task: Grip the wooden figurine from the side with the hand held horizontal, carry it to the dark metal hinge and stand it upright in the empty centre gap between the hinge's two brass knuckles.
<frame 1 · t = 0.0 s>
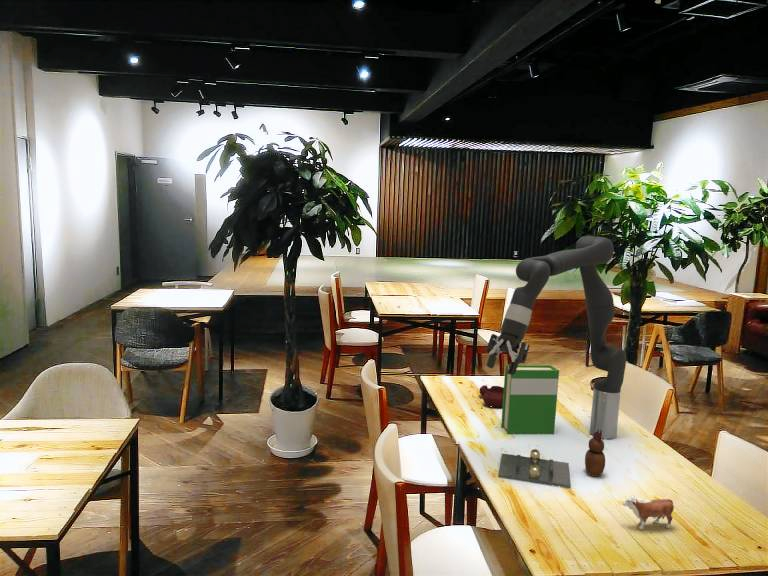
hand: (499, 371, 176), 31 cm above the table, tool tilted 20°, fingers open, 8 cm apart
hinge: (534, 471, 179), on the table
wooden figurine: (593, 474, 179), on the table
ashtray: (500, 403, 244), on the table
bull figurine: (647, 526, 150), on the table
hardback book: (527, 431, 214), on the table
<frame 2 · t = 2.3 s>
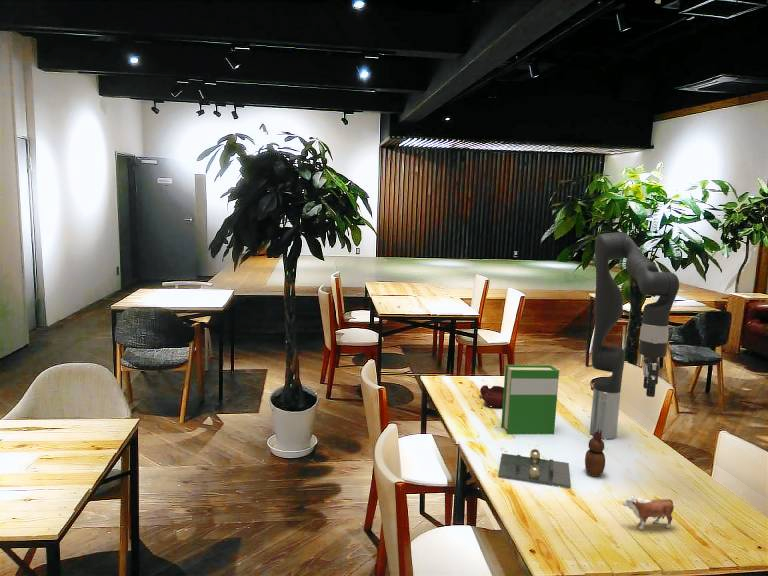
hand: (648, 392, 172), 28 cm above the table, tool pointing down, fingers open, 8 cm apart
nothing on the table moved.
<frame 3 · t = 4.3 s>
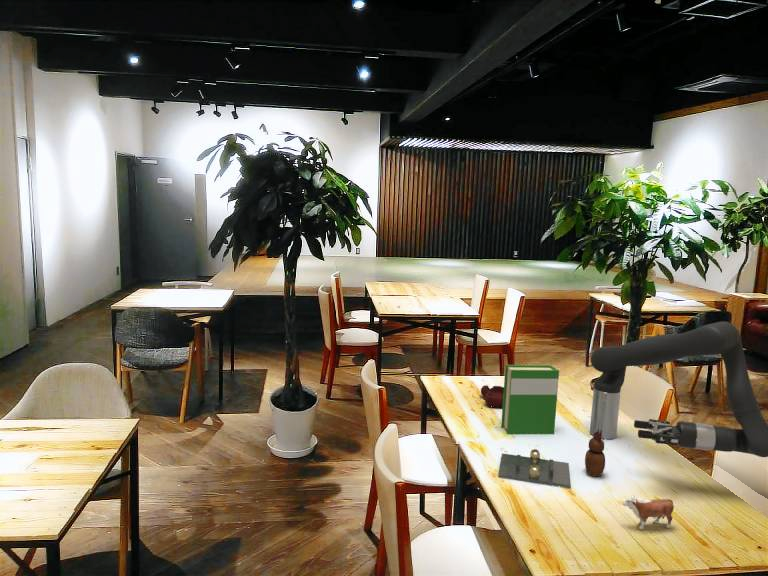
hand: (636, 428, 174), 16 cm above the table, tool horizontal, fingers open, 8 cm apart
nothing on the table moved.
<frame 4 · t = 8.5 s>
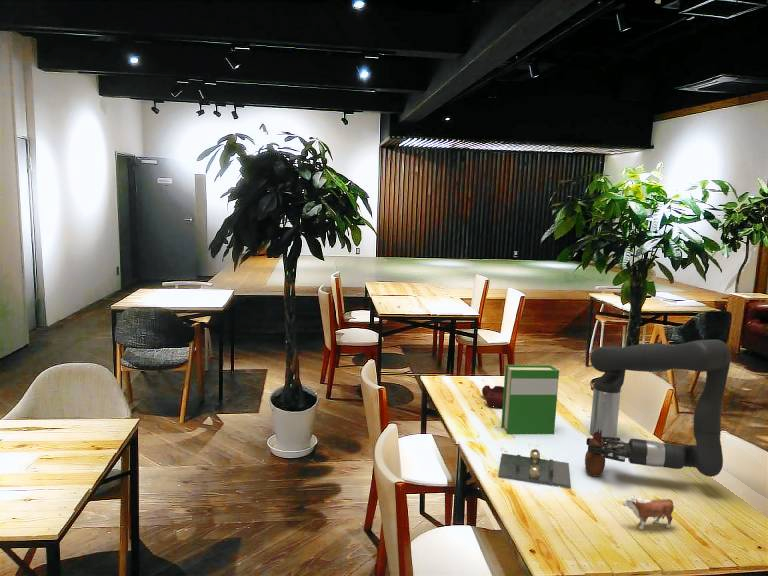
hand: (587, 444, 179), 9 cm above the table, tool horizontal, fingers closed on wooden figurine, 5 cm apart
wooden figurine: (593, 474, 179), on the table, touching gripper
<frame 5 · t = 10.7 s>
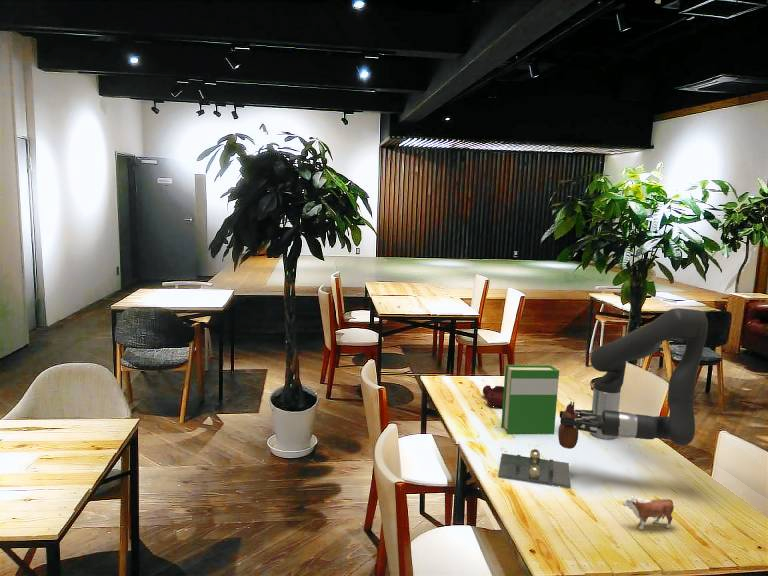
hand: (560, 417, 177), 18 cm above the table, tool horizontal, fingers closed on wooden figurine, 5 cm apart
wooden figurine: (567, 447, 178), point 8 cm above the table, touching gripper
when the fingers open (11 cm above the table, at t = 13.4 s): wooden figurine drops 1 cm, resting on hinge.
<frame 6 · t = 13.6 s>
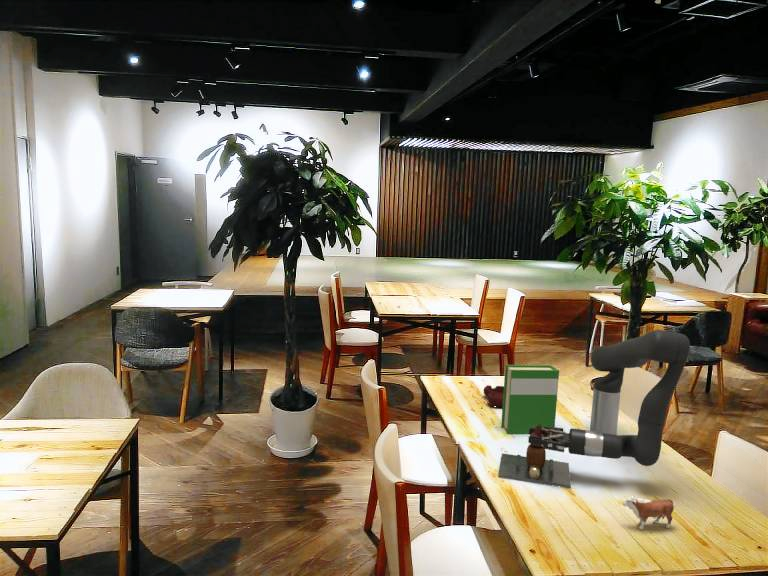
hand: (529, 435, 178), 11 cm above the table, tool horizontal, fingers open, 6 cm apart
wooden figurine: (534, 468, 179), point 1 cm above the table, touching hinge
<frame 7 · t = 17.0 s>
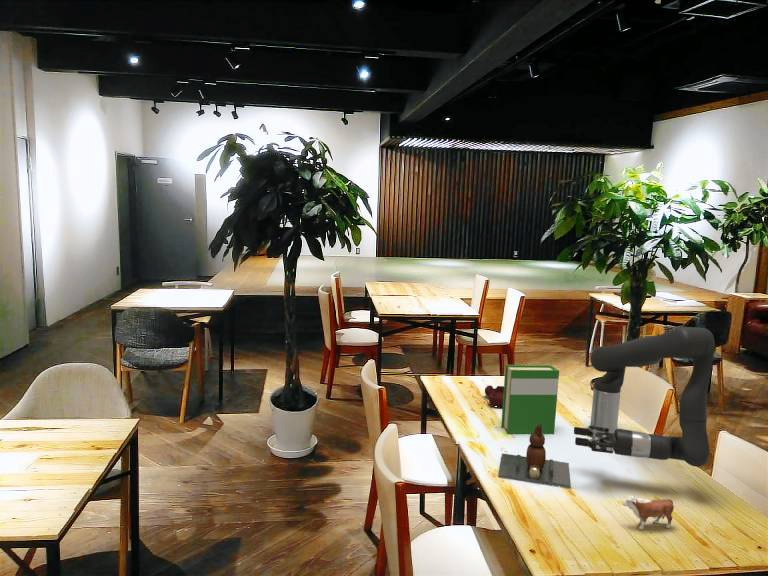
hand: (574, 435, 175), 13 cm above the table, tool horizontal, fingers open, 8 cm apart
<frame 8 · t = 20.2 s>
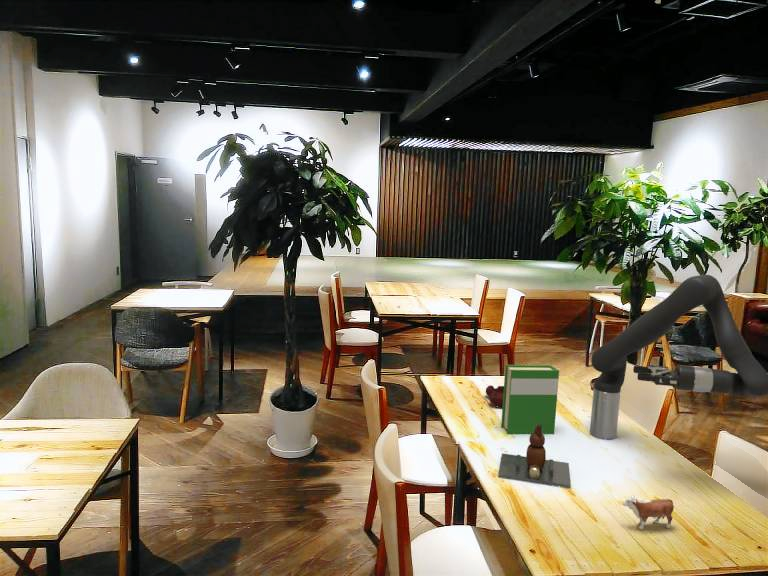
hand: (635, 372, 178), 32 cm above the table, tool horizontal, fingers open, 8 cm apart
at the end: wooden figurine 0.2 cm off-centre on the hinge, point 0.8 cm above the hinge's base; wooden figurine tilted 0°; the gripper is holding nothing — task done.
